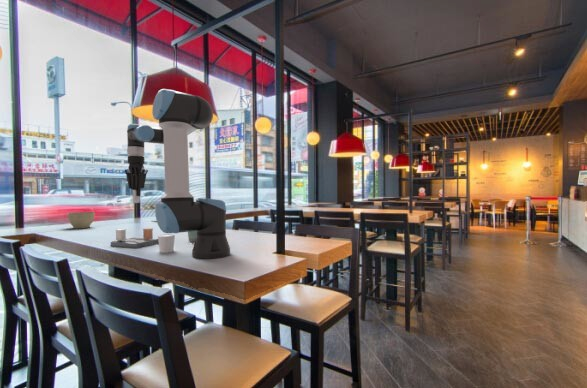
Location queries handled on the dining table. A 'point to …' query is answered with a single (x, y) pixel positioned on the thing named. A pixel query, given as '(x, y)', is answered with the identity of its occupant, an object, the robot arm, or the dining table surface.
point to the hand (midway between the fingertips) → (136, 202)
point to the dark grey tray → (134, 242)
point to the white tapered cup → (166, 243)
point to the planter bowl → (81, 219)
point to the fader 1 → (121, 234)
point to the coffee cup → (192, 236)
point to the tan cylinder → (148, 233)
